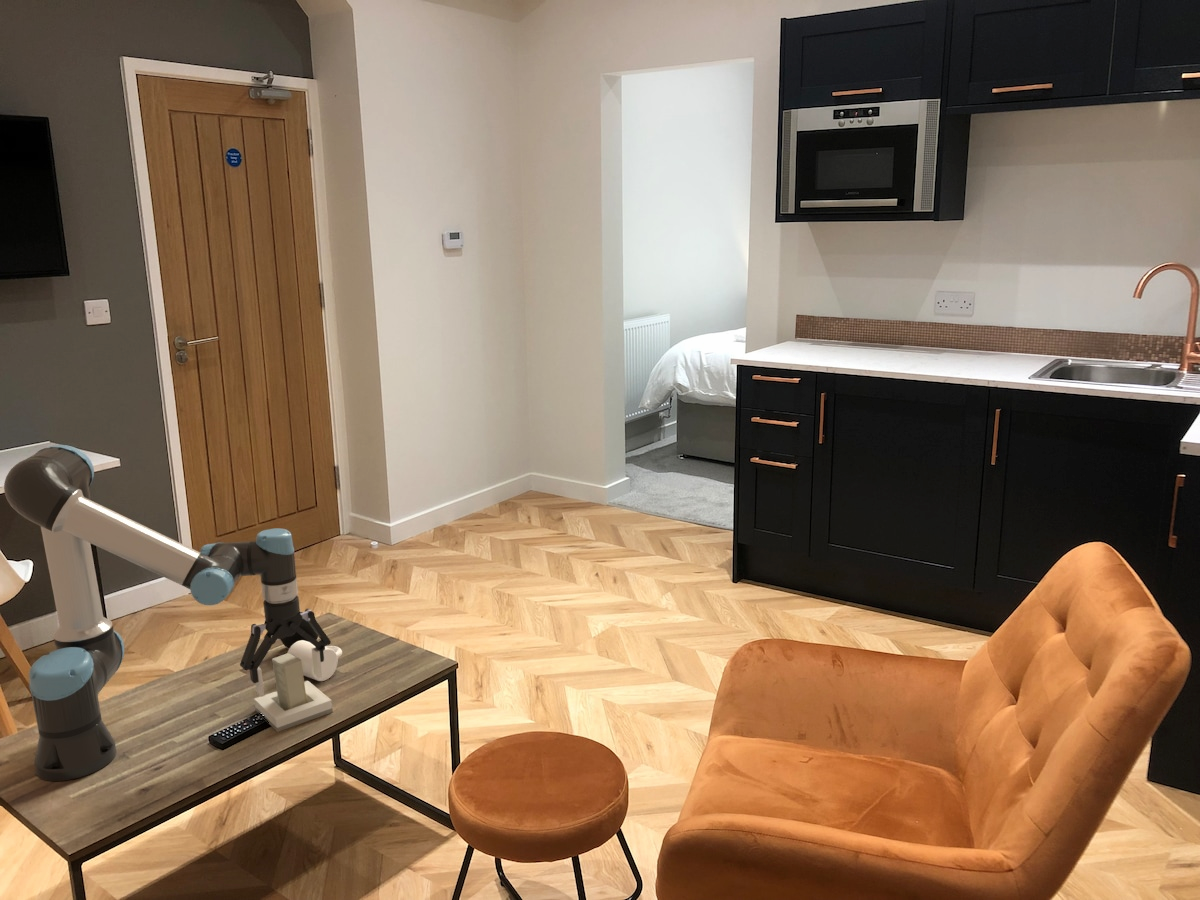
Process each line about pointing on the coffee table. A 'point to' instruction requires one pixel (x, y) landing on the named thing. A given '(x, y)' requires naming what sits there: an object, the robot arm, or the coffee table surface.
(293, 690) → the skincare box
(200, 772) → the coffee table surface
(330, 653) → the mug
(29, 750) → the coffee table surface
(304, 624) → the decorative ball
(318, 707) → the socket block
